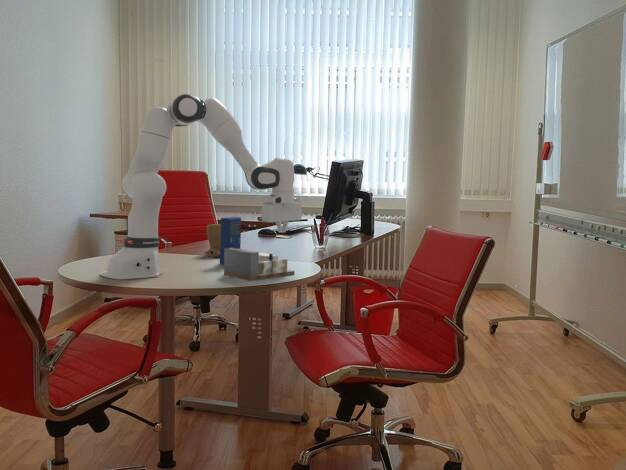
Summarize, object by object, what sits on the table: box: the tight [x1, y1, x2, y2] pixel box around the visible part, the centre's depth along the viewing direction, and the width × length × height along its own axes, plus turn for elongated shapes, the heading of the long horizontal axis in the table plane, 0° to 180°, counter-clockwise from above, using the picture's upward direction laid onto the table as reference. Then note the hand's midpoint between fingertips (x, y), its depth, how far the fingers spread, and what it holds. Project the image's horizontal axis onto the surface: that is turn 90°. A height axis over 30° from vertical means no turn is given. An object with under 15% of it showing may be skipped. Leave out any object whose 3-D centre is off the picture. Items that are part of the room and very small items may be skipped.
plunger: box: [259, 252, 279, 262], centre depth 257 cm, size 6×12×6 cm, turn 48°
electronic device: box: [219, 216, 242, 266], centre depth 280 cm, size 10×5×20 cm, turn 152°
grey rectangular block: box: [223, 248, 260, 277], centre depth 248 cm, size 4×15×9 cm, turn 48°
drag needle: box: [268, 253, 274, 260], centre depth 250 cm, size 1×1×2 cm, turn 48°
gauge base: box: [223, 258, 295, 282], centre depth 255 cm, size 24×15×6 cm, turn 138°
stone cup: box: [204, 223, 221, 258], centre depth 303 cm, size 15×12×15 cm
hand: (281, 232), depth 263 cm, fingers closed
